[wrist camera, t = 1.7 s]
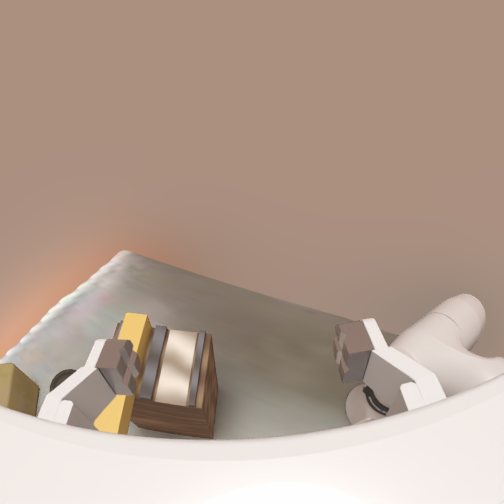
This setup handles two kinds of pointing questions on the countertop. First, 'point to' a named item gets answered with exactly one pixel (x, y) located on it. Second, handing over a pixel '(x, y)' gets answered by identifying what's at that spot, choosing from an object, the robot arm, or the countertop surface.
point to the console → (176, 383)
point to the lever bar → (121, 406)
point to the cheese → (17, 390)
